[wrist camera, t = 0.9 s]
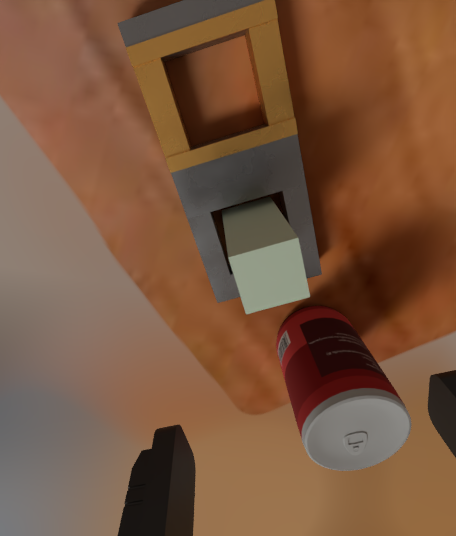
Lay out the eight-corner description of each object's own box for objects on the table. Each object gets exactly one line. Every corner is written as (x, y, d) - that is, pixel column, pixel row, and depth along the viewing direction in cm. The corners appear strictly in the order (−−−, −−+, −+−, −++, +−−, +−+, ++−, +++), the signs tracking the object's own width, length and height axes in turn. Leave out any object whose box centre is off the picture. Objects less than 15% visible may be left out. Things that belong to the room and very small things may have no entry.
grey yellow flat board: (263, -18, 20) (269, -31, 18) (314, 263, 29) (322, 275, 27) (125, 30, 21) (116, 22, 19) (216, 290, 30) (217, 304, 28)
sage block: (269, 196, 26) (298, 237, 18) (280, 241, 28) (310, 297, 20) (221, 210, 26) (228, 257, 18) (234, 254, 28) (246, 314, 20)
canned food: (292, 377, 35) (326, 484, 25) (260, 324, 32) (285, 424, 22) (361, 348, 34) (424, 448, 24) (334, 289, 30) (396, 379, 21)
